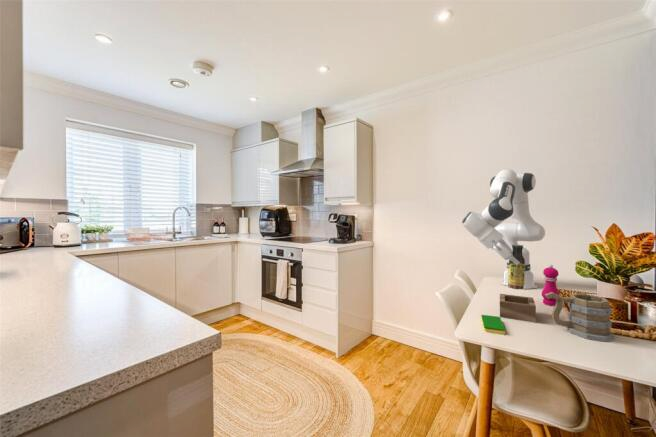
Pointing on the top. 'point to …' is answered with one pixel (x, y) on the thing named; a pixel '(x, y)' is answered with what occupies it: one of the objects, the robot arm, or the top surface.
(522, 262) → the sauce bottle
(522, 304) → the socket
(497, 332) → the dish sponge
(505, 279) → the robot arm
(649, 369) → the top surface
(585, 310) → the tankard
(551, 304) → the pepper mill
